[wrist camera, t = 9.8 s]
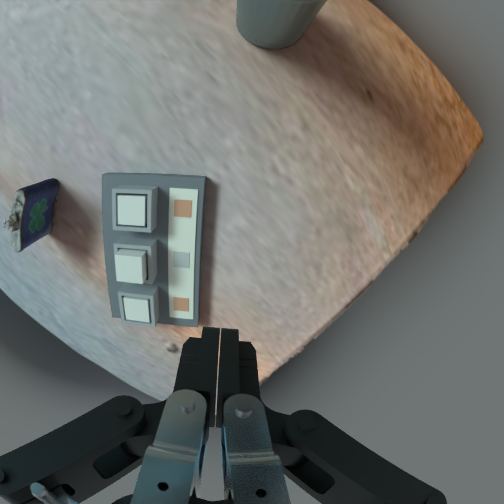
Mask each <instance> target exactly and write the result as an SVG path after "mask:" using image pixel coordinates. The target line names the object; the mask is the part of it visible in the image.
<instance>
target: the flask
mask: <svg viewBox="0 0 504 504" xmlns="http://www.w3.org/2000/svg"><path fill="white" fill-rule="evenodd" d="M59 188H60V185H59V182H58V180H57V179H54V178H52V179H48V180H45V181H42V182H39V183H36V184H33V185H30V186H27V187H24V188H21V189H19V190H17V192H16V193H15V197H14V201H13V205H12V210H11V214H10V216H9V220H8V221H7V228H8V229H10V236H11V246H12V248H13V250H14V251H15V252H21V251H22V250H23V249H25V248H26V247H28V246H29V245H31V244H32V243H34V242H35V241H37V240H39V239H40V238H42V237H44V236H46V235H48V234H49V233H50V232H51V231H52V228H53V224H54V223H53V217H54V215H55V208H56V207H55V202H57V201H56V197H57V195H58V191H59ZM3 223H4V225H5V224H6V219H5V220H4V222H3ZM5 227H6V226H4V228H5Z"/></svg>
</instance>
